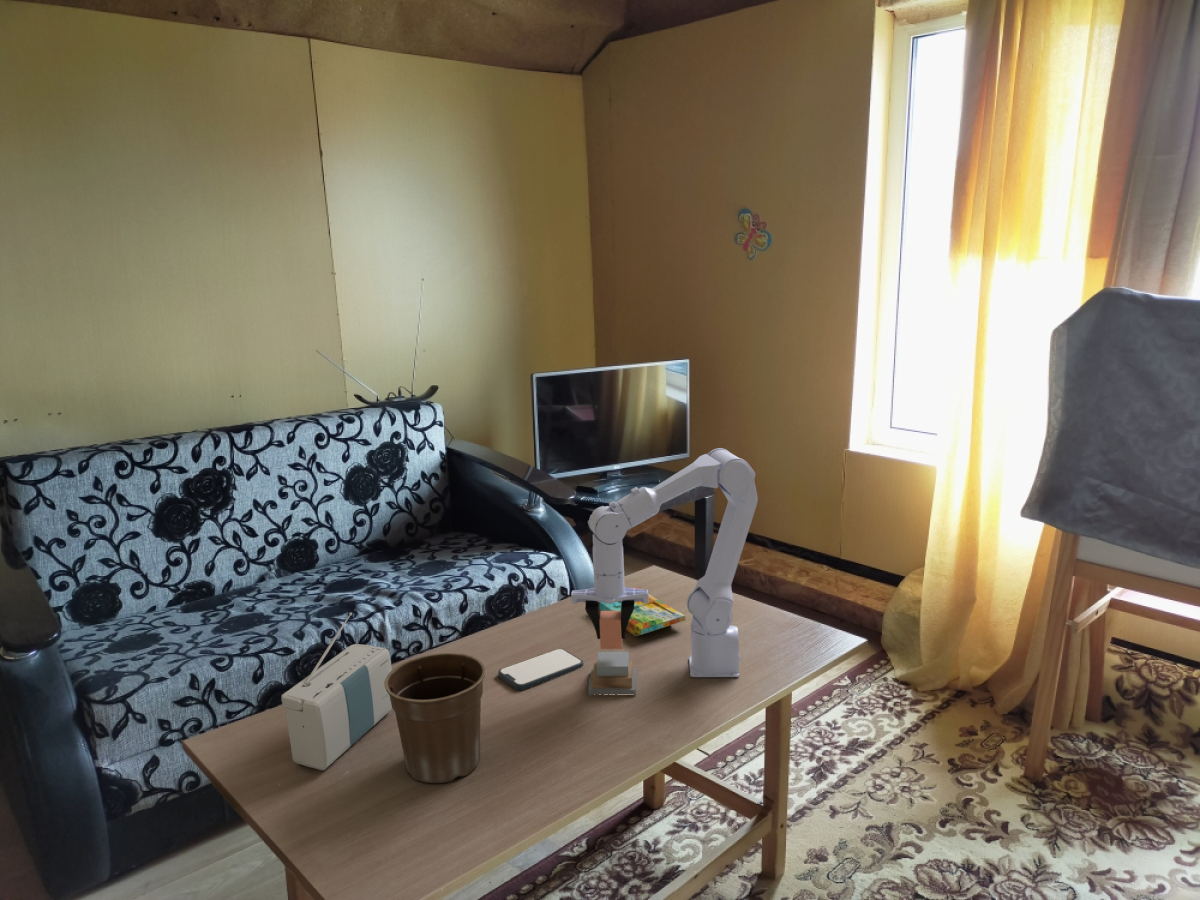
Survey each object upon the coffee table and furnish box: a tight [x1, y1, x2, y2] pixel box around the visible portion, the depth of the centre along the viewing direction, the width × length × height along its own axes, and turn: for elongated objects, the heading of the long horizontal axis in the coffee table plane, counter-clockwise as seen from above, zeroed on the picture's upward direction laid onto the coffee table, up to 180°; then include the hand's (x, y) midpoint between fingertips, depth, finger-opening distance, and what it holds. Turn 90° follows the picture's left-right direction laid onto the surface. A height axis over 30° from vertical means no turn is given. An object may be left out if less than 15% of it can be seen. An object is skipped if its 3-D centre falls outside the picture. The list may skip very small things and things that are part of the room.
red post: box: [599, 611, 624, 650], centre depth 161 cm, size 4×4×6 cm
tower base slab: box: [587, 666, 638, 696], centre depth 164 cm, size 9×9×2 cm
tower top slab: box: [597, 651, 630, 676], centre depth 163 cm, size 6×6×2 cm
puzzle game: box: [600, 586, 686, 637], centre depth 190 cm, size 12×5×20 cm
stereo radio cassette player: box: [281, 612, 393, 771], centre depth 147 cm, size 21×8×20 cm, turn 160°
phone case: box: [497, 648, 584, 692], centre depth 170 cm, size 9×2×16 cm
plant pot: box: [384, 652, 486, 784], centre depth 139 cm, size 16×16×16 cm
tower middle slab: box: [592, 658, 634, 688], centre depth 164 cm, size 8×8×2 cm
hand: (611, 636), depth 162 cm, fingers closed on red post, 4 cm apart
